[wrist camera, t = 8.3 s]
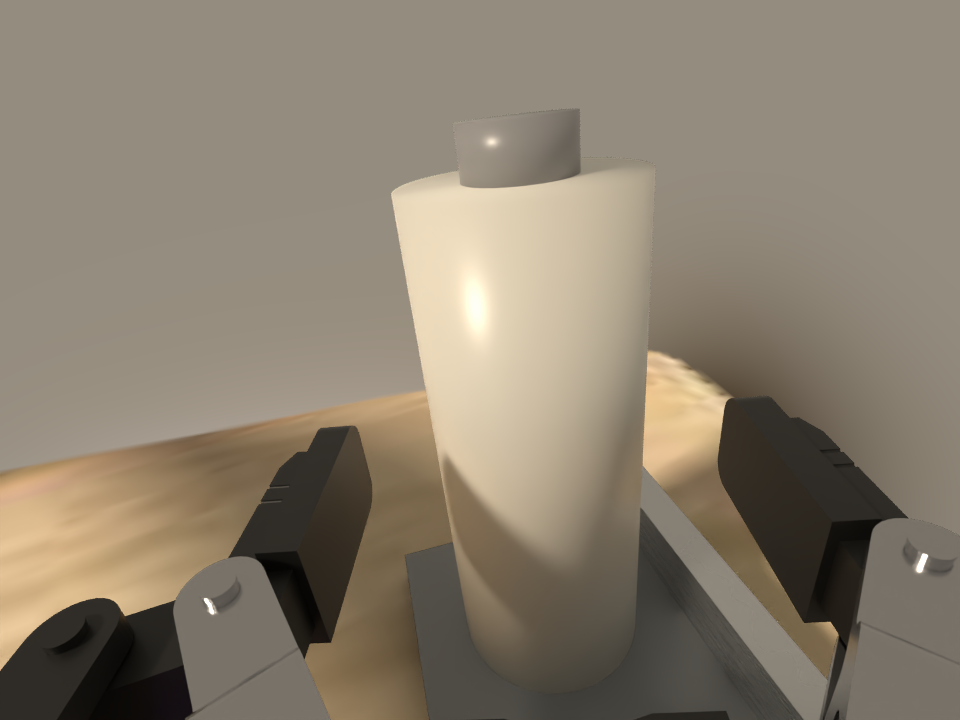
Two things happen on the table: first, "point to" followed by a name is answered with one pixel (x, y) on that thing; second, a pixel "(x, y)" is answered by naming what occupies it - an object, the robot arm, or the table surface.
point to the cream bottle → (536, 386)
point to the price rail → (728, 614)
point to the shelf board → (575, 715)
